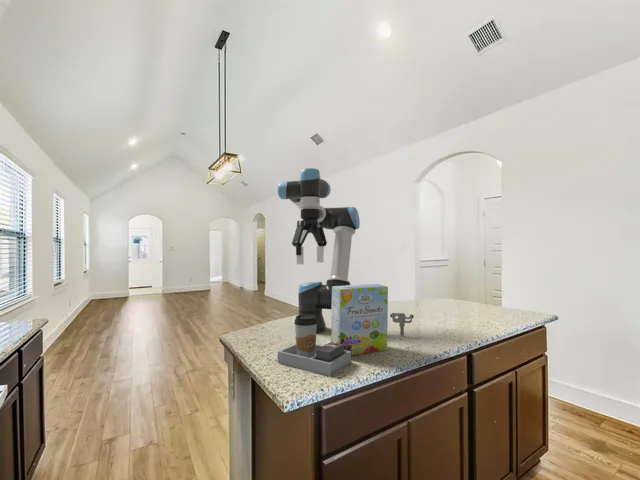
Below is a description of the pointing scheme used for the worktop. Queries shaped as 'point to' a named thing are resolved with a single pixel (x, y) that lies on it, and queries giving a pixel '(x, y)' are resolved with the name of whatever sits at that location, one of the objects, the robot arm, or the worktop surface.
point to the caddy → (313, 361)
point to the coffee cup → (305, 335)
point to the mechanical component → (401, 320)
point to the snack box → (360, 317)
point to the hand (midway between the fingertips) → (310, 263)
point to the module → (330, 352)
